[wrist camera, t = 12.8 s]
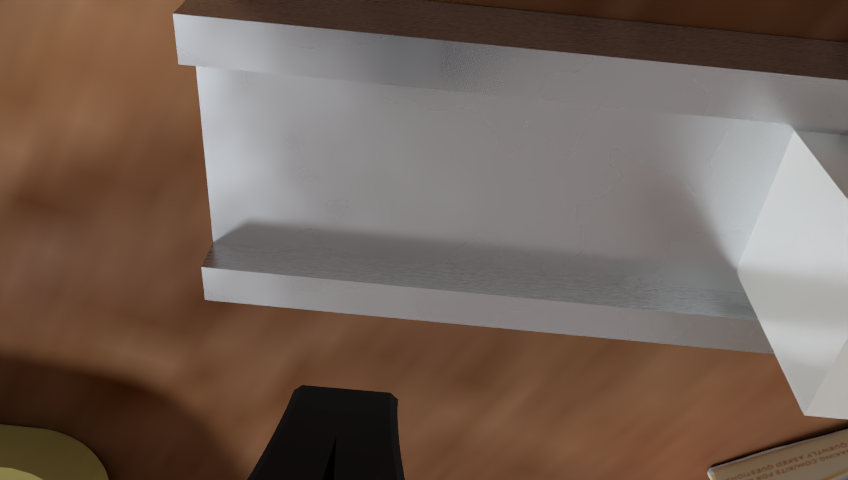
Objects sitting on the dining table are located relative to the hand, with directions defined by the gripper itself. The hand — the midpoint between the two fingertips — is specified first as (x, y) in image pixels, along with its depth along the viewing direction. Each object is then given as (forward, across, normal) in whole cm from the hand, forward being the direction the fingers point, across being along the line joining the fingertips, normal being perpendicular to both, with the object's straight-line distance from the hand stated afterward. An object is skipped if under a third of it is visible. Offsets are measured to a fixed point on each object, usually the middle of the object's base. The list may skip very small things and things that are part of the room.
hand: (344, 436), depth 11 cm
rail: (+9, -6, 0) cm, 11 cm away
